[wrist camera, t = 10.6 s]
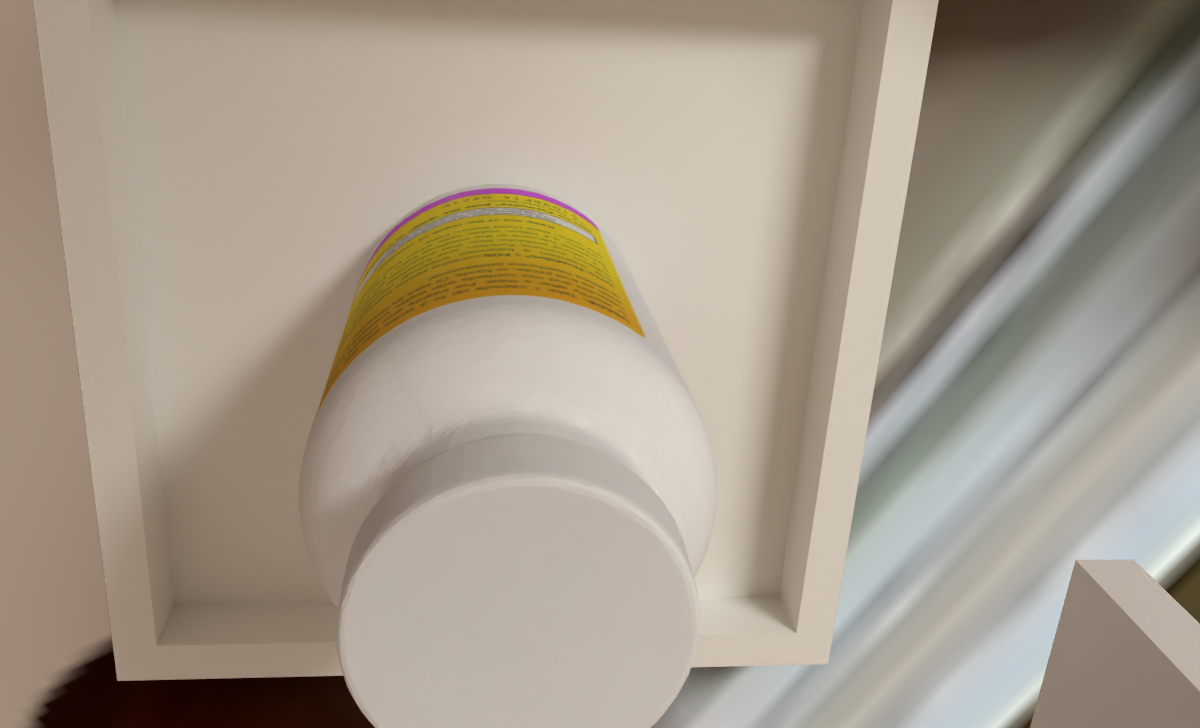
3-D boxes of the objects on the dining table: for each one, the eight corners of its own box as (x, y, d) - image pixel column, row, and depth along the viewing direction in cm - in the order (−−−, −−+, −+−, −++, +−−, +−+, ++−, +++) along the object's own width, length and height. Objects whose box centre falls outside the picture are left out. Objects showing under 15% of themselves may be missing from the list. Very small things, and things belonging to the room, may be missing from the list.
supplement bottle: (299, 269, 24) (132, 570, 12) (547, 123, 24) (621, 291, 12) (454, 487, 27) (439, 913, 15) (683, 359, 26) (857, 695, 14)
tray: (64, -122, 22) (16, -130, 19) (902, -63, 24) (949, -64, 22) (145, 621, 28) (117, 681, 26) (800, 609, 31) (827, 664, 28)
